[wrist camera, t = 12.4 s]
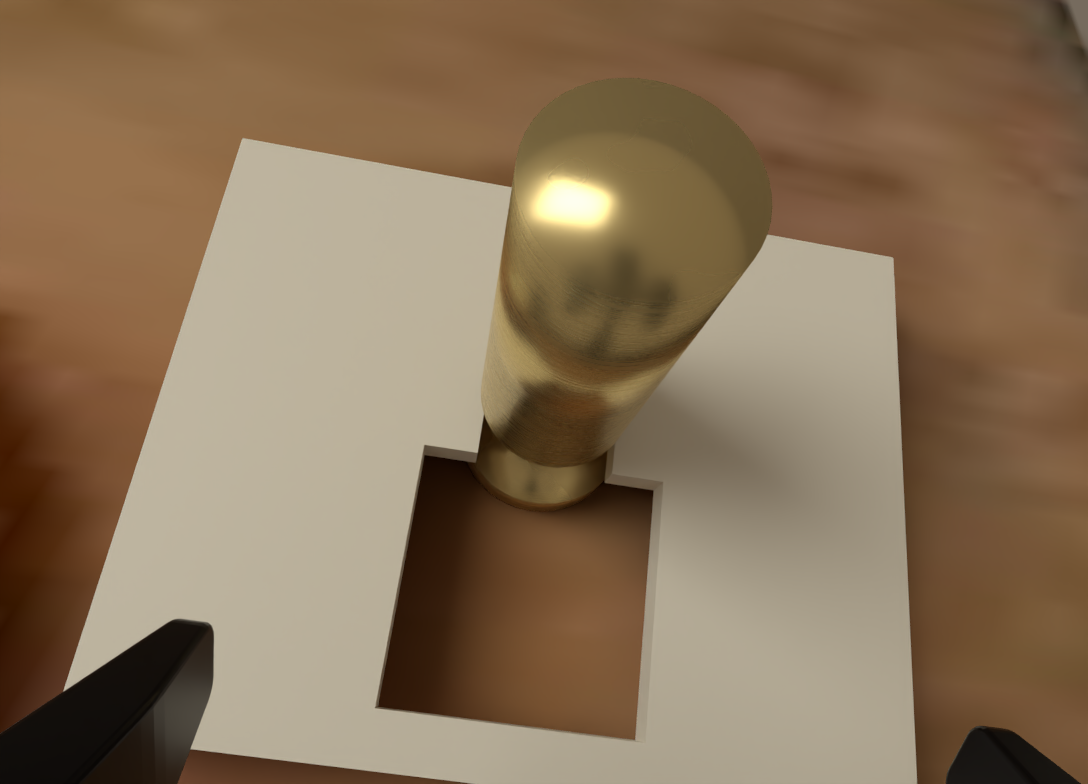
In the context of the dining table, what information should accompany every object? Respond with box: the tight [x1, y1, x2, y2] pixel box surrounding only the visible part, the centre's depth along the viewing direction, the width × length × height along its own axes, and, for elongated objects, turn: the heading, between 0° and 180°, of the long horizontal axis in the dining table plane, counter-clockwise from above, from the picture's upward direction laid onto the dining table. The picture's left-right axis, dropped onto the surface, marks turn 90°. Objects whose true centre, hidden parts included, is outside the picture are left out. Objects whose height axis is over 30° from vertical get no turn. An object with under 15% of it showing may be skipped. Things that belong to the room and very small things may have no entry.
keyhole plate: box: [63, 138, 917, 784], centre depth 22 cm, size 16×20×3 cm
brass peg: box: [466, 78, 772, 512], centre depth 18 cm, size 5×5×13 cm
